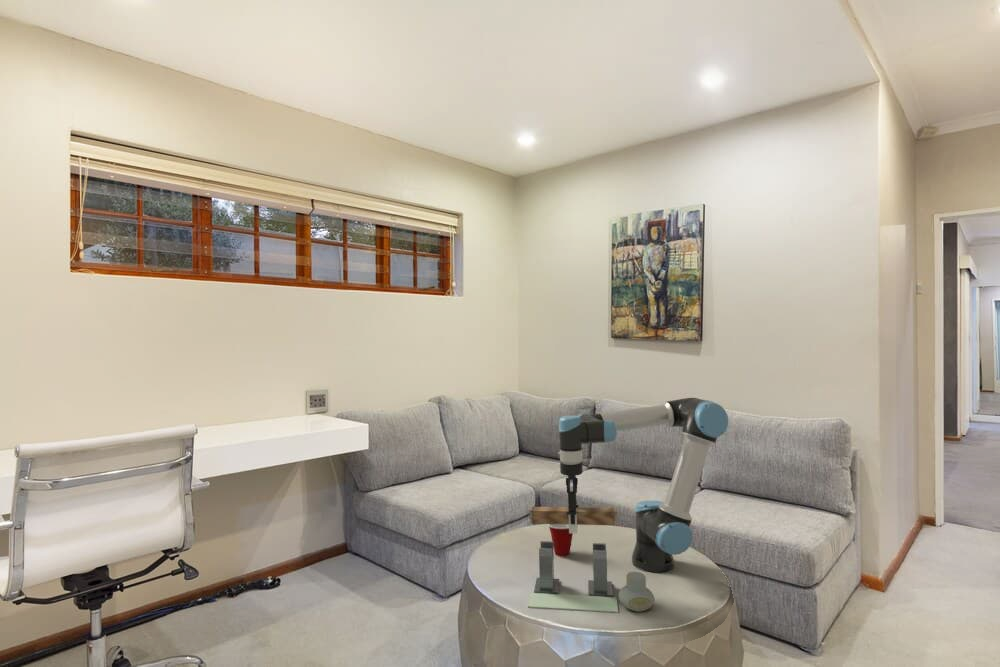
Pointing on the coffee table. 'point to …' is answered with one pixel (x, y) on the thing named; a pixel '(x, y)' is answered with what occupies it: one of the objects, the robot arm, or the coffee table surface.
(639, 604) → the air freshener
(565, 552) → the plastic cup
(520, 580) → the coffee table surface
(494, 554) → the coffee table surface
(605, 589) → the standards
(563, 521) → the rail
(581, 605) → the mat
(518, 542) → the coffee table surface
